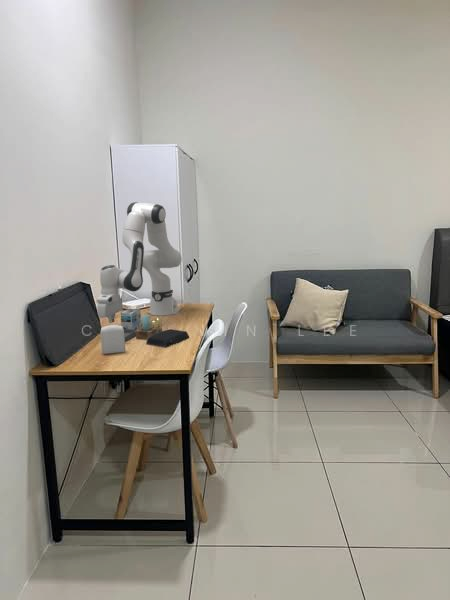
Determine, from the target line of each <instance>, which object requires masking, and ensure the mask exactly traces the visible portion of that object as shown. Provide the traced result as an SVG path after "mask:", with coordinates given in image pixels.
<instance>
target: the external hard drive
mask: <svg viewBox="0 0 450 600" xmlns="http://www.w3.org/2000/svg"><path fill="white" fill-rule="evenodd" d="M189 338H190V335H189V333H188V331H186V330H178V329H172V328H170V329H165V330H162V331H161V332H158V333H156V334H154V335H152V336H150V337H149V338H148V339H147V340H146V343H145V345H148V346H152V347H159V348H168V347H172V346H174V345H176V343H177V344H180V343H181V342H183V340H184V341H185V340H188V339H189ZM173 344H174V345H173ZM171 345H172V346H171Z"/></svg>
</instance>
